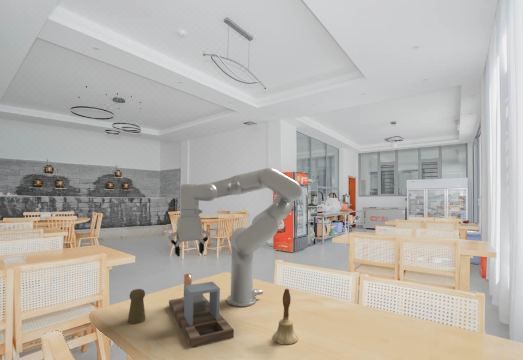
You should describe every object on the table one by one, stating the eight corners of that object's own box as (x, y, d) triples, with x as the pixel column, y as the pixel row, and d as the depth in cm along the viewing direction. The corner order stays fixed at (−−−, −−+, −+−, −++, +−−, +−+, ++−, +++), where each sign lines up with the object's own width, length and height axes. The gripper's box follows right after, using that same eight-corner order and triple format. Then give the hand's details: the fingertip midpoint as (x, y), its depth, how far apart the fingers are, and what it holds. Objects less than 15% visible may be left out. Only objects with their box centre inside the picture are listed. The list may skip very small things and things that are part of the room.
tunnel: (219, 319, 104) (219, 288, 104) (189, 325, 99) (190, 292, 99) (211, 311, 111) (212, 281, 111) (184, 316, 106) (184, 285, 106)
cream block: (198, 304, 116) (199, 289, 116) (202, 309, 112) (203, 293, 112) (186, 307, 114) (186, 291, 114) (189, 312, 110) (189, 295, 110)
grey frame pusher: (206, 308, 112) (206, 283, 112) (186, 312, 108) (187, 285, 109) (195, 295, 125) (195, 272, 126) (177, 298, 122) (178, 274, 122)
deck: (233, 337, 97) (233, 329, 97) (191, 347, 90) (191, 339, 90) (202, 300, 127) (202, 294, 127) (168, 306, 121) (169, 300, 121)
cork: (139, 325, 104) (139, 293, 104) (123, 323, 105) (124, 292, 106) (148, 317, 110) (149, 288, 110) (134, 316, 111) (135, 286, 111)
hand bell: (291, 330, 102) (292, 284, 102) (302, 342, 94) (303, 292, 94) (269, 334, 99) (269, 286, 100) (278, 346, 91) (279, 294, 92)
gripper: (206, 211, 131) (206, 250, 130) (166, 213, 123) (166, 255, 122) (212, 213, 124) (212, 253, 124) (170, 215, 116) (170, 258, 116)
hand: (189, 254), depth 123 cm, fingers open, 9 cm apart
